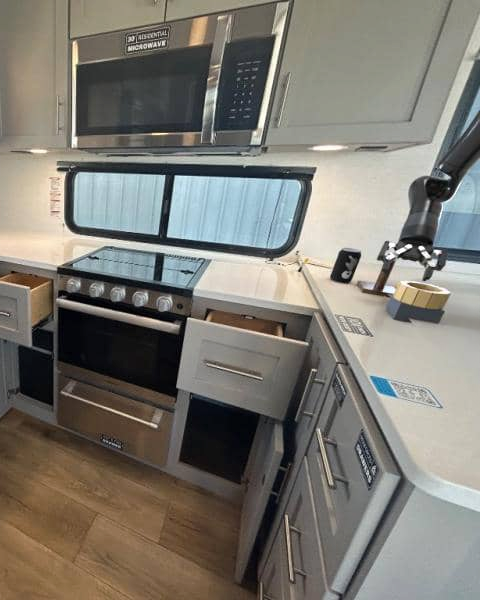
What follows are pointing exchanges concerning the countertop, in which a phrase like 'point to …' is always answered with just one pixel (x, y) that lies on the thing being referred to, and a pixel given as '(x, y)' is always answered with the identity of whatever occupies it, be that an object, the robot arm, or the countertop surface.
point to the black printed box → (345, 265)
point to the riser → (412, 312)
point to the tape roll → (421, 294)
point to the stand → (379, 284)
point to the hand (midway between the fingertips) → (404, 275)
